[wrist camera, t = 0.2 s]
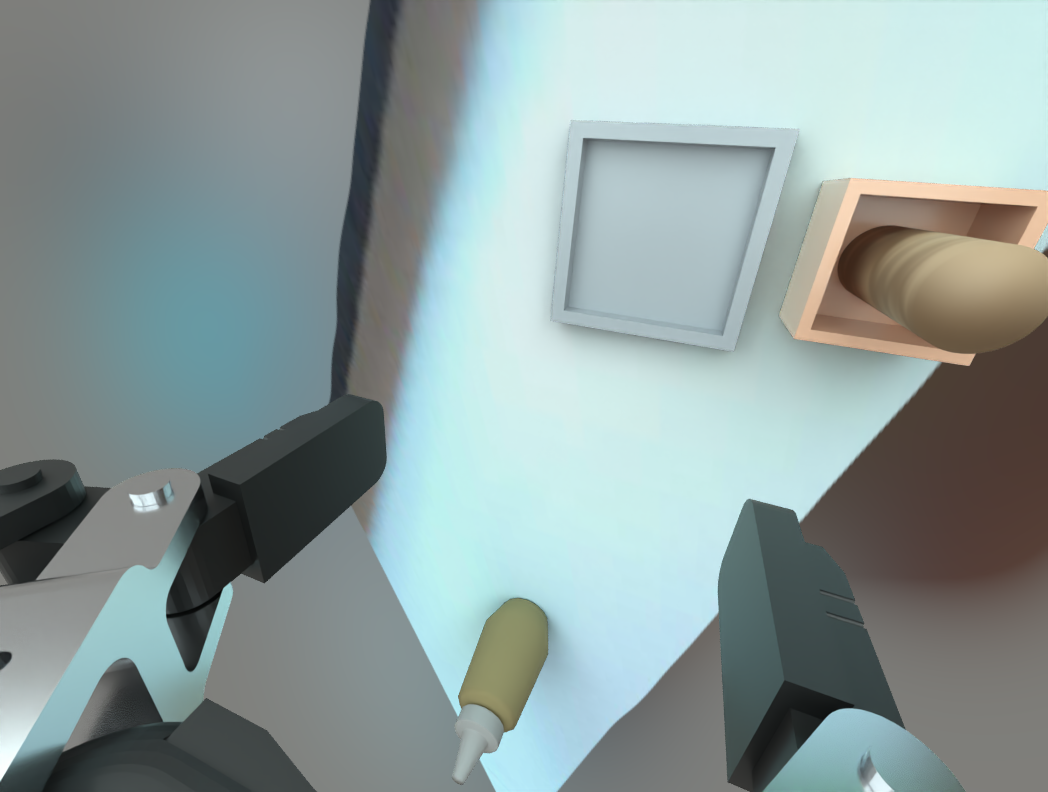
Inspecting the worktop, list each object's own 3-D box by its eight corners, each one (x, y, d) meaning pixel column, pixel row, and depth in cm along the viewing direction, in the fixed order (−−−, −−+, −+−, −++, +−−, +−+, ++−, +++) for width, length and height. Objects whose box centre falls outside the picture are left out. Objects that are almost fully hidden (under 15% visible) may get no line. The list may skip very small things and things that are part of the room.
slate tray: (578, 124, 32) (570, 119, 30) (792, 133, 28) (799, 128, 26) (557, 314, 38) (550, 320, 36) (731, 342, 34) (733, 351, 32)
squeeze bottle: (561, 604, 52) (503, 778, 36) (552, 648, 55) (496, 823, 40) (497, 580, 54) (417, 735, 38) (493, 624, 57) (418, 782, 42)
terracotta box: (823, 181, 29) (850, 178, 23) (992, 192, 26) (1065, 192, 21) (778, 315, 32) (793, 338, 27) (922, 336, 30) (969, 366, 25)
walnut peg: (853, 221, 28) (943, 237, 18) (937, 229, 27) (1087, 250, 17) (826, 292, 30) (894, 343, 20) (904, 302, 29) (1020, 362, 18)
